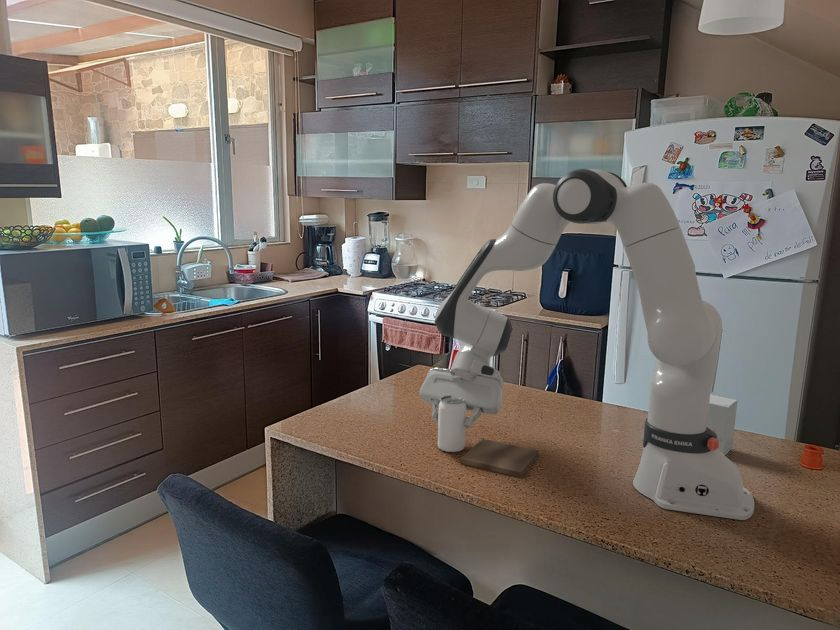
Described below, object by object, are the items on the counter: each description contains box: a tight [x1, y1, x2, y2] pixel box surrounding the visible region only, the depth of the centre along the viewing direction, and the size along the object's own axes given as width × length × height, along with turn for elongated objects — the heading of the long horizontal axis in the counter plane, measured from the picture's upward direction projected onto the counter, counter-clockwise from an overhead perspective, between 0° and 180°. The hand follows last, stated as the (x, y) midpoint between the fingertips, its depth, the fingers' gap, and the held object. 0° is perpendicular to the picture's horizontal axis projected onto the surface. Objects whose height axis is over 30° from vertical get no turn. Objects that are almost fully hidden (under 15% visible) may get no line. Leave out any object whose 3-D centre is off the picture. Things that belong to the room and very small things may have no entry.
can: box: [437, 396, 467, 453], centre depth 143 cm, size 6×6×12 cm
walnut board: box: [460, 438, 540, 478], centre depth 138 cm, size 14×13×1 cm
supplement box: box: [707, 394, 738, 456], centre depth 144 cm, size 7×7×13 cm
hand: (450, 422), depth 142 cm, fingers open, 7 cm apart
